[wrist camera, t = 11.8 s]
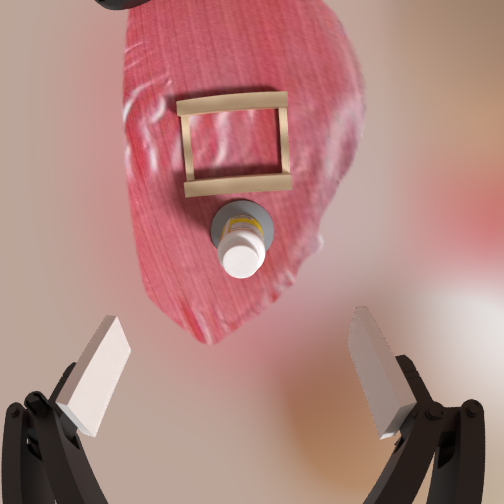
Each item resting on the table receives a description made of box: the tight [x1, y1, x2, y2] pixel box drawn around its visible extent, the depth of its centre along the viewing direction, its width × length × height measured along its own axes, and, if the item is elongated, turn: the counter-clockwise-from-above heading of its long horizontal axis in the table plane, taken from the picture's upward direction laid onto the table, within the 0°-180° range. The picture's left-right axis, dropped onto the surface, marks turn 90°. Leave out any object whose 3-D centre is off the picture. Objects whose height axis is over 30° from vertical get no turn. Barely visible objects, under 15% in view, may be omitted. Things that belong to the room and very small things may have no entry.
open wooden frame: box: [176, 91, 292, 197], centre depth 34 cm, size 13×14×2 cm
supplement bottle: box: [218, 214, 265, 278], centre depth 34 cm, size 6×6×10 cm
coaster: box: [211, 200, 274, 252], centre depth 40 cm, size 9×9×1 cm
